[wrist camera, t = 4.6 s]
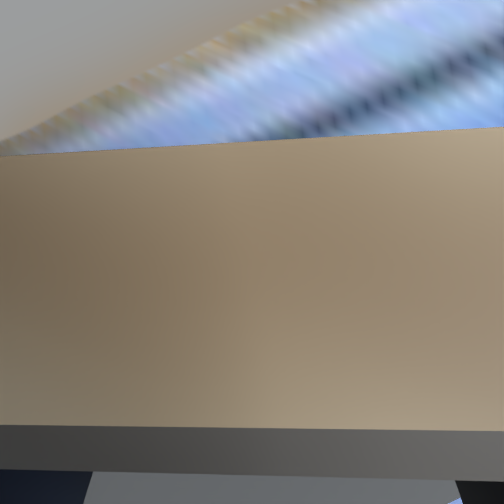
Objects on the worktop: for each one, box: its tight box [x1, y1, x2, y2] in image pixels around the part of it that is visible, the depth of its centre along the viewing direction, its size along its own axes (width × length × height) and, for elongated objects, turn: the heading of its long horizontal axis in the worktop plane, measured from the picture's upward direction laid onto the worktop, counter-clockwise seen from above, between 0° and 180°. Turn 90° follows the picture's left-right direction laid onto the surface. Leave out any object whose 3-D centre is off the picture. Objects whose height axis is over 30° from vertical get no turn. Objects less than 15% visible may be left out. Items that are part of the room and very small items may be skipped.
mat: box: [83, 471, 460, 504], centre depth 18 cm, size 18×27×1 cm, turn 118°
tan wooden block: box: [0, 127, 504, 482], centre depth 9 cm, size 3×6×13 cm, turn 91°
